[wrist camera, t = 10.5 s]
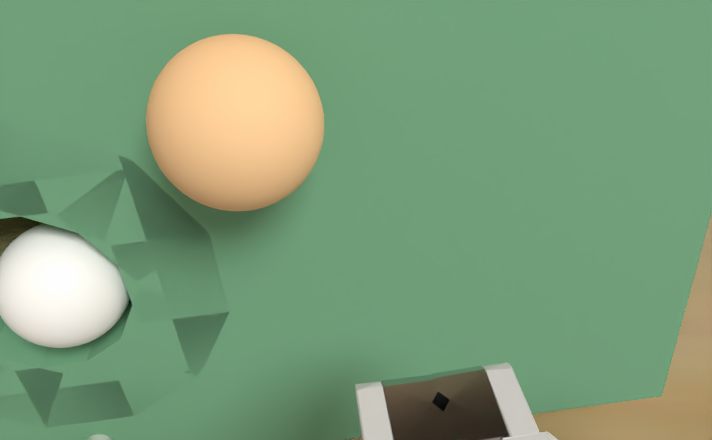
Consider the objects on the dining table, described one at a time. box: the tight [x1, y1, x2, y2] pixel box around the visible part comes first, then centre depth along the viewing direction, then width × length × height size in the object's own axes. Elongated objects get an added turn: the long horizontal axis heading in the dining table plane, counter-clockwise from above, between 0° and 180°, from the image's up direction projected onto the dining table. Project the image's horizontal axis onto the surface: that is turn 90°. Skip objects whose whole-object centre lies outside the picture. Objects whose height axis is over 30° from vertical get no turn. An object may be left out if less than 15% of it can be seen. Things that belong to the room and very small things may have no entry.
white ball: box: [0, 223, 130, 348], centre depth 18 cm, size 4×4×4 cm
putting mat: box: [0, 0, 712, 440], centre depth 14 cm, size 17×24×14 cm
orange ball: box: [146, 34, 324, 211], centre depth 13 cm, size 4×4×4 cm
